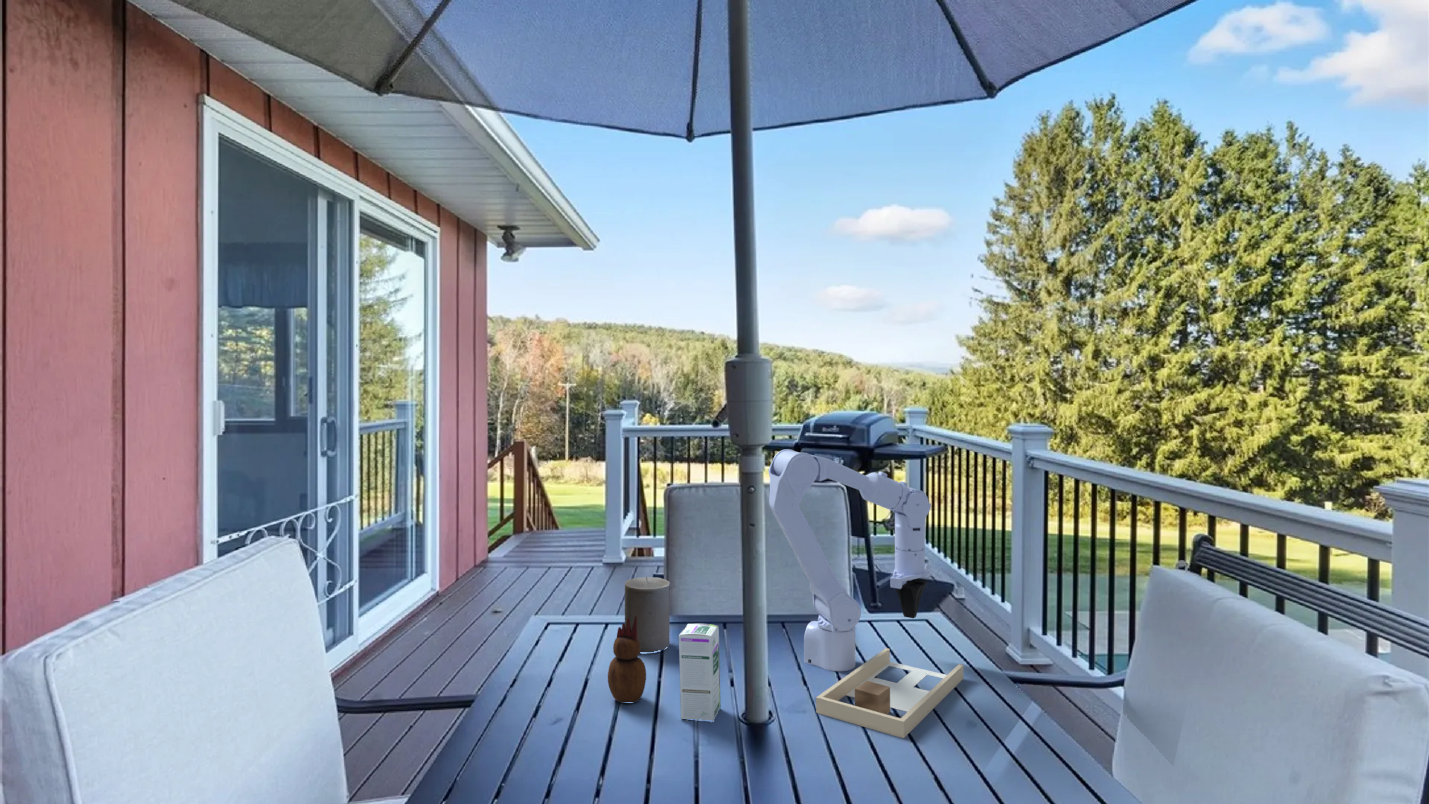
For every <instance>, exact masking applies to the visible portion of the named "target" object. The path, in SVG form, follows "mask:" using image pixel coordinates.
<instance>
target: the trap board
mask: <svg viewBox="0 0 1429 804" xmlns="http://www.w3.org/2000/svg"><path fill="white" fill-rule="evenodd" d="M888 667H892V668H897V669H900V670H903V671H908V673H907V674H906V675H905V676H903V678H901V679H900V680H899V681H898V682H894V681H889V680H886V679H881V678H878V677H876V676H878V675H879V674H881V673H882V672H883V671H884V670H885V669H887V668H888ZM927 676H931V677H935V678H939V679H941V680H940V681H939V682H938V683H937V684H936V685H935V686H934V687H933V688H932V689H930V690H926V689H922V688H919V687H915V686H917V684H918V683H920V682H921V681H922V680H923V679H925V677H927ZM963 680H964V665H963V664H960V663H959V664H957V665H956V666H955V667H954V668H953V669H952V670H951V671H950V672H949V673H948V674H945V673H941V672H936V671H932V670H929V669H928V670H927V669H925V668H924V669H923V668H918V667H915V666H910V665H906V664H901V663H898V662H897V663H896V662H892V661H891V651H890V648H887V647H885V648H884V649H882V650H881V651H880V652H878V653H877V654H875V655H874V656H872V658H870V659H868V660H867V661H865V662H864V663H863V664H861V665H860V666H859V667H857V668H856V669H853V671H851V672H849V674H847V675H846V676H844V677H842V678H841V679H840V680H838V681H837V682H836V683H834V684H833V685H831V686H830V687H829V688H827V689H825V690H824V691H823V692H821V693H820V694H819V695H817V696H816V697H815V701H816V702H815V707H816V708H815V711H816V714H819V715H822V716H826V717H829V718H832V719H833V718H834V719H836V720H840V721H842V722H843V721H844V722H847V723H850V724H854V725H856V726H860V727H864V728H867V729H871V730H872V731H873V730H874V731H877V732H880V733H884V734H886V735H887V734H888V735H891V736H893V737H897V738H902V739H905V738H906V737H907V736H908V734H910V733H911V732H912V730H913V729H914V728H916V727H917V726H918V725H919V724H920V723H921V722H922V721H923V720H924V719H925V717H927V716H928V715H929V714H930V713H931V712H932V711H933V710H934V709H935V708H936V707H937V706H938V705H939V704H940V703H941V702H942V701H943V700H944V699H945V698H946V696H948V695H949V694H950V693H951V692H952V691H953V690H954V689H955V688H956V687H957V686H958V685H959V684H960V683H961V682H962V681H963ZM866 681H870V682H874V683H877V684H881V685H885V686H888V687H890V709H895V710H898V711H902V712H905V714H904V715H902V716H901V717H897V716H893V715H890V714H887V715H886V714H883V713H879V712H876V711H872V710H868V709H865V708H861V707H858V706H855V704H854V705H853V704H850V703H846V702H842V701H840V700H842V699H843V698H845V696H847V697H851V698H854V699H855V688H856V687H858V686H859V685H861V684H863V683H864V682H866Z"/></svg>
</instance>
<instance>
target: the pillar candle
mask: <svg viewBox="0 0 1429 804" xmlns="http://www.w3.org/2000/svg"><path fill="white" fill-rule="evenodd" d="M670 587H671V582H670V580H667V579H664V578H661V577H650V576H645V577H636V578H631V579H629V580H627V581H625V583H624V624H625V628H626V625H627V618H629V620H630V626H631V630H632V626H633V622H634V618H635V616H637V638H638V639H639V641H640V652H654V651H658V650H663V649H665V648H666V647H668V646H669V647H670V632H671V631H670V629H671V628H670V623H671V622H670V621H671V620H670V615H671V613H670V611H671V610H670V607H671V606H670V605H671V604H670V601H671V600H670V599H671V598H670V594H671V593H670V591H671V589H670Z"/></svg>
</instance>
